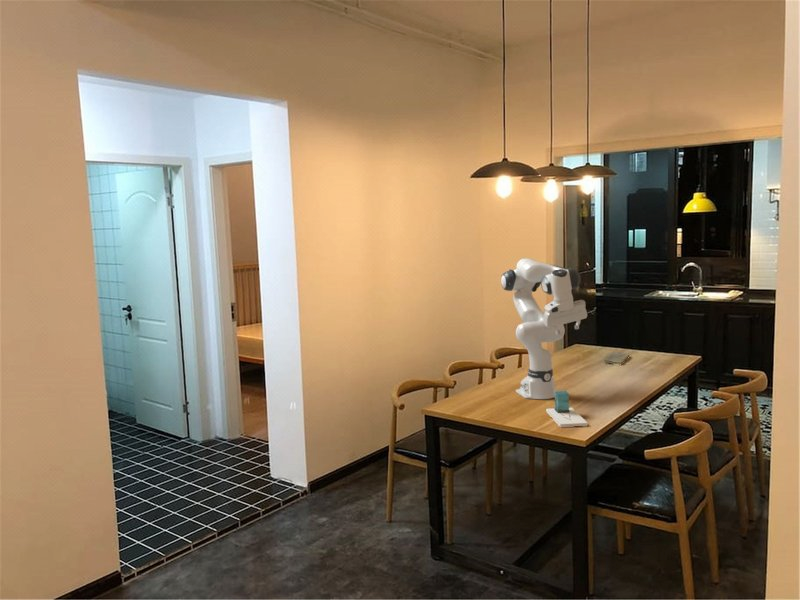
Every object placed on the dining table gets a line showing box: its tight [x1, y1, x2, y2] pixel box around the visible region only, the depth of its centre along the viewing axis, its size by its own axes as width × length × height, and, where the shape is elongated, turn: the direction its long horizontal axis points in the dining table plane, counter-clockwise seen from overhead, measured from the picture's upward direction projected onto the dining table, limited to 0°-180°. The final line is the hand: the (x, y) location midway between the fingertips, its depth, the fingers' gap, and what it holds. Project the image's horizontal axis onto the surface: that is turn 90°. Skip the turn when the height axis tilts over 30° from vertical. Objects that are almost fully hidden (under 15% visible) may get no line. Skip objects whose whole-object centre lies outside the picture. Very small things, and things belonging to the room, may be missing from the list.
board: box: [546, 407, 589, 428], centre depth 288 cm, size 24×12×2 cm, turn 1°
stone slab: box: [603, 351, 630, 365], centre depth 406 cm, size 12×4×30 cm
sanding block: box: [554, 390, 570, 413], centre depth 294 cm, size 5×5×9 cm
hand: (567, 331), depth 301 cm, fingers open, 8 cm apart
